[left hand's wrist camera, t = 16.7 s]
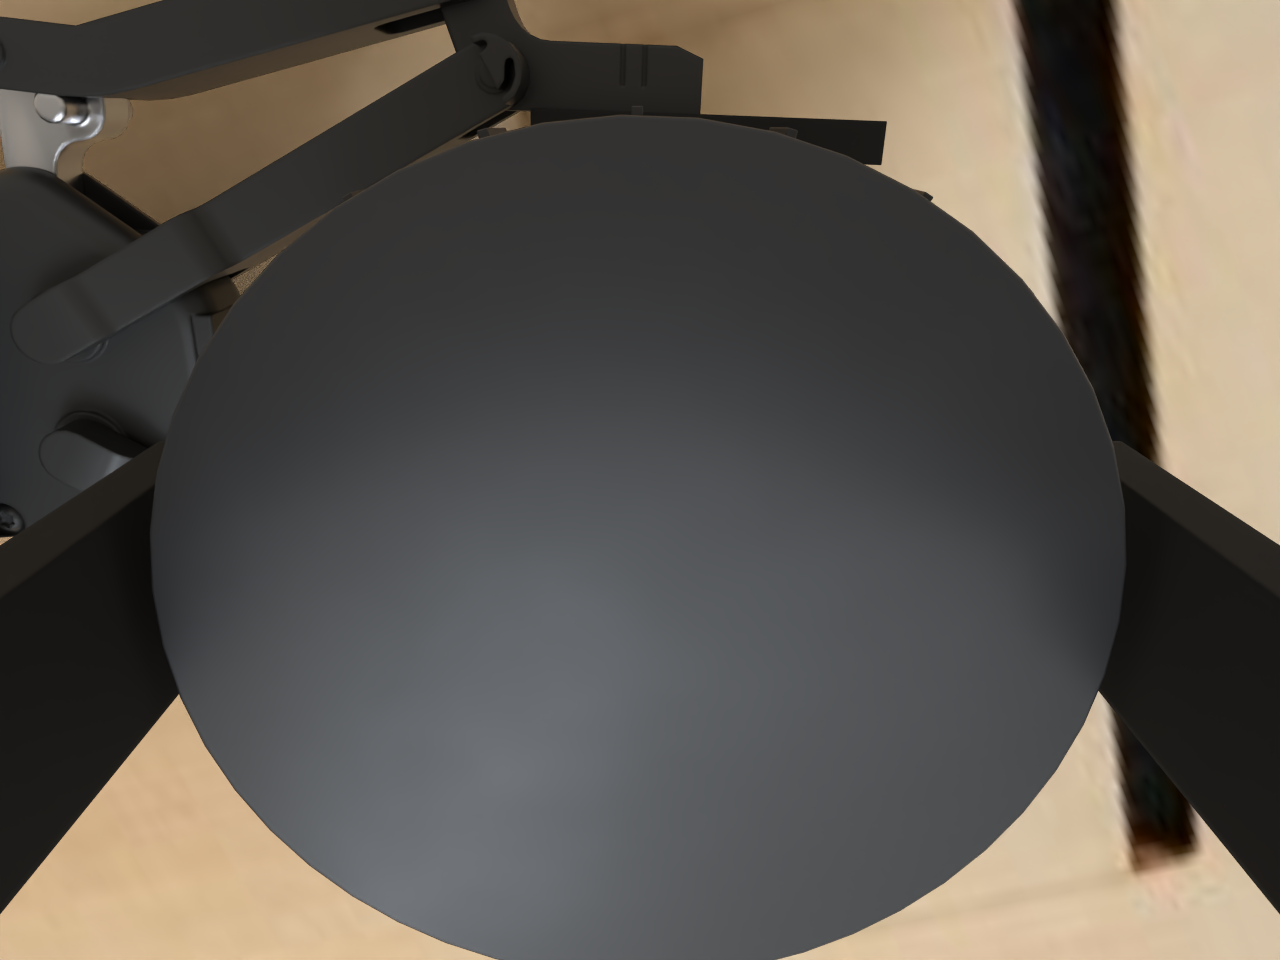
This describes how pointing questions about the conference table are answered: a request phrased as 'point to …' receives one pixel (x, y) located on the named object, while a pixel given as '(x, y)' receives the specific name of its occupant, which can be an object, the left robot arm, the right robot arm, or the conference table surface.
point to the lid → (638, 543)
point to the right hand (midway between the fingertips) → (835, 397)
